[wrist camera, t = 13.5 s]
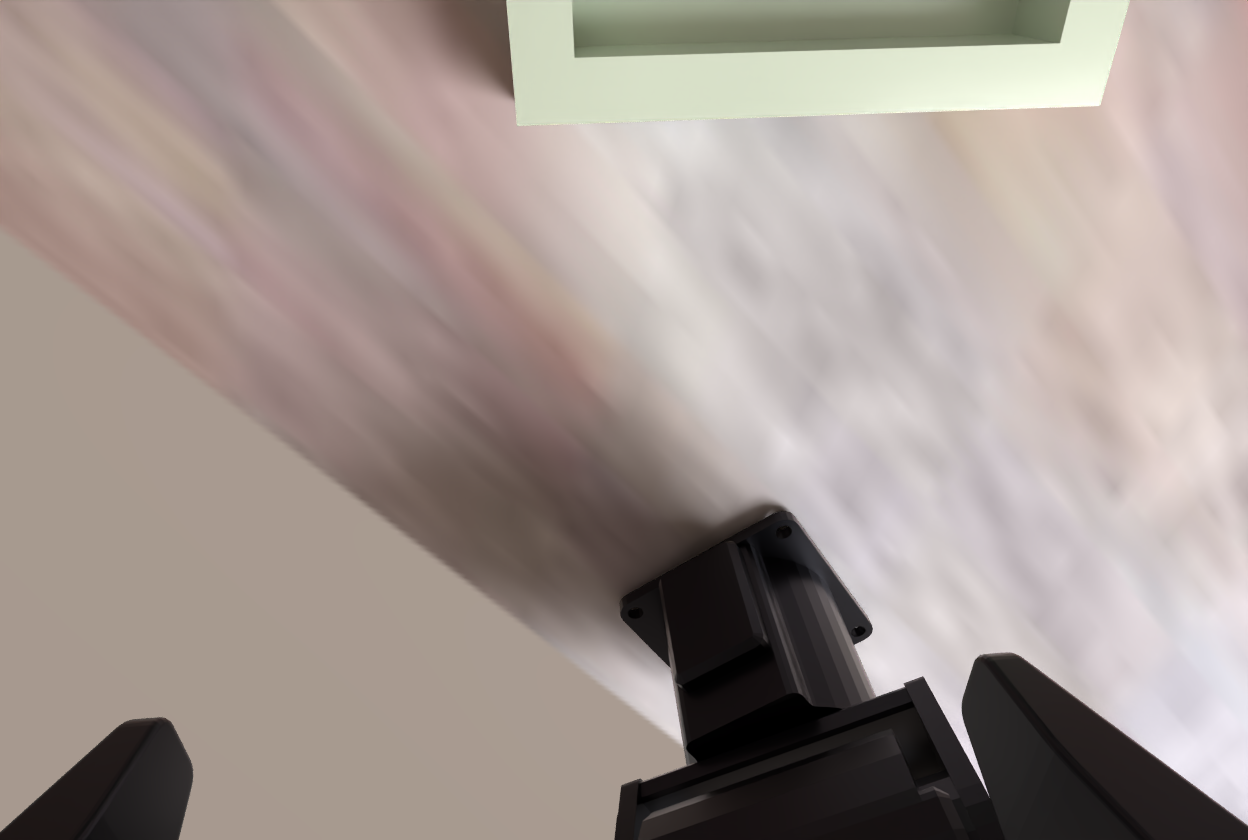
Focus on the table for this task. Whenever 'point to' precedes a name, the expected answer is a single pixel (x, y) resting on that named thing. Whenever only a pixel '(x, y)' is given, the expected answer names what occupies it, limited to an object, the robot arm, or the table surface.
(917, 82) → the sage dish
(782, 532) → the robot arm
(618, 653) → the table surface
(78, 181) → the table surface
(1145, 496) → the table surface
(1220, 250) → the table surface
